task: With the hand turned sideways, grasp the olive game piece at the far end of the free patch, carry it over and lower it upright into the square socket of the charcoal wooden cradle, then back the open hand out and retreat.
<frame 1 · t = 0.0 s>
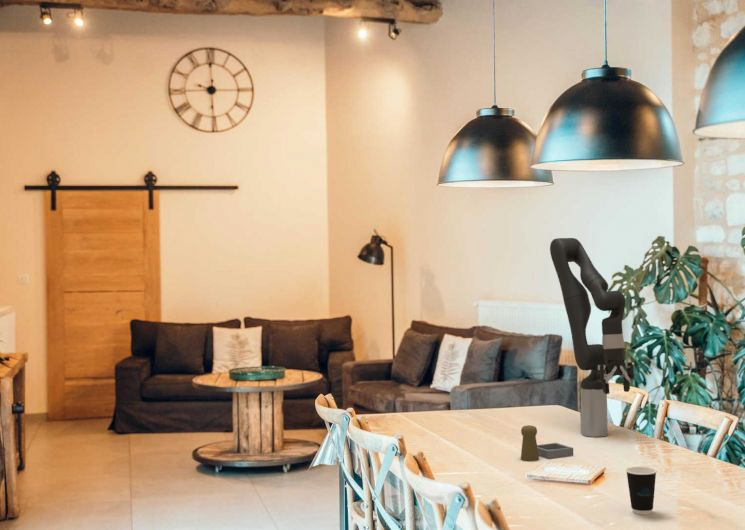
hand: (616, 392, 339), 17 cm above the table, tool pointing down, fingers open, 8 cm apart
cradle: (552, 454, 321), on the table
dixie cup: (642, 512, 249), on the table
olive game piece: (529, 459, 315), on the table
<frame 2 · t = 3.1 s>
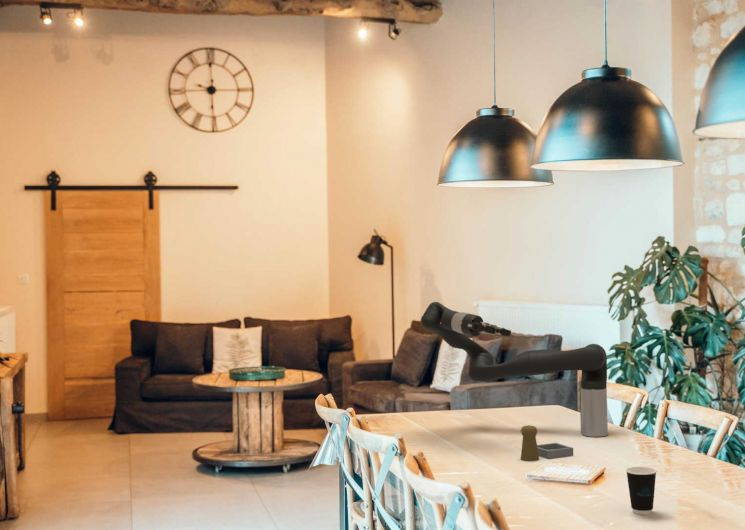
hand: (502, 332, 327), 41 cm above the table, tool horizontal, fingers open, 8 cm apart
nothing on the table moved.
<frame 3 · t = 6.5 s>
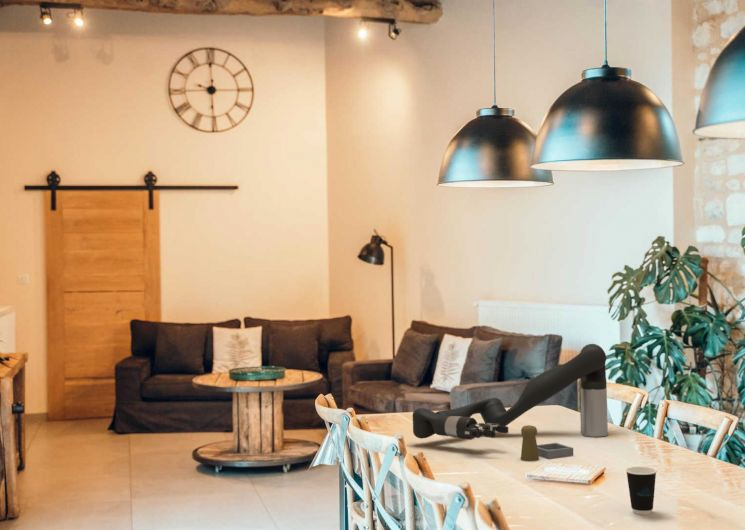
hand: (501, 432, 321), 8 cm above the table, tool horizontal, fingers open, 8 cm apart
nothing on the table moved.
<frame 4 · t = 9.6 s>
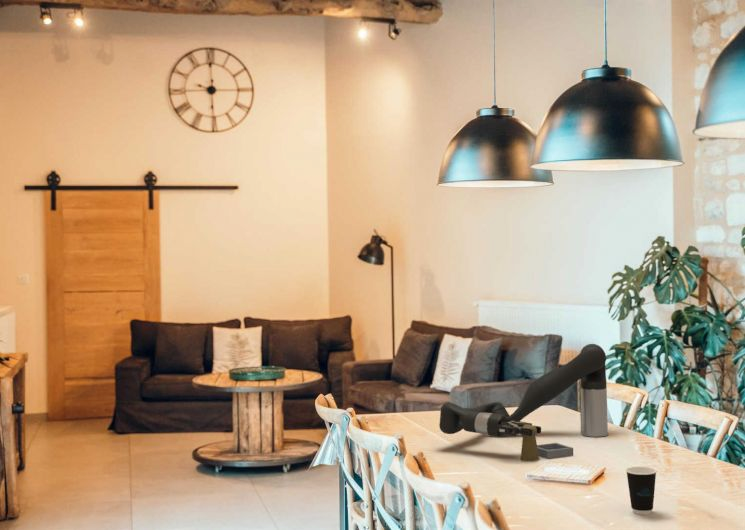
hand: (536, 431, 313), 9 cm above the table, tool horizontal, fingers closed on olive game piece, 5 cm apart
olive game piece: (529, 459, 315), on the table, touching gripper
everything else where it was.
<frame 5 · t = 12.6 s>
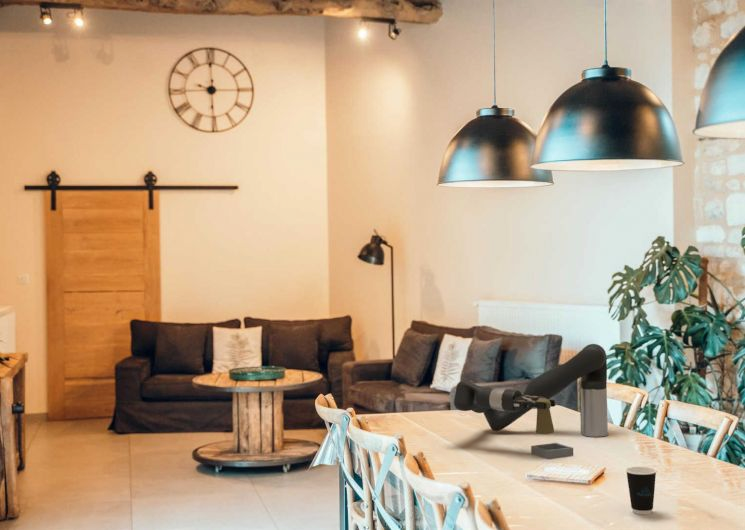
hand: (550, 404, 316), 17 cm above the table, tool horizontal, fingers closed on olive game piece, 5 cm apart
olive game piece: (545, 432, 318), point 8 cm above the table, touching gripper
everything else where it was.
when the fingers open (10 cm above the table, at t = 15.4 s): olive game piece stays where it is, resting on cradle.
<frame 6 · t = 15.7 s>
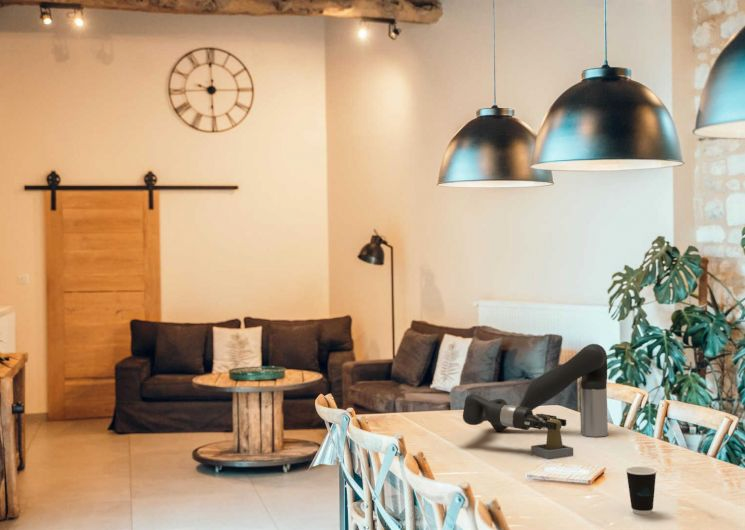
hand: (561, 424, 318), 10 cm above the table, tool horizontal, fingers open, 7 cm apart
olive game piece: (554, 452, 320), point 1 cm above the table, touching cradle
everything else where it was.
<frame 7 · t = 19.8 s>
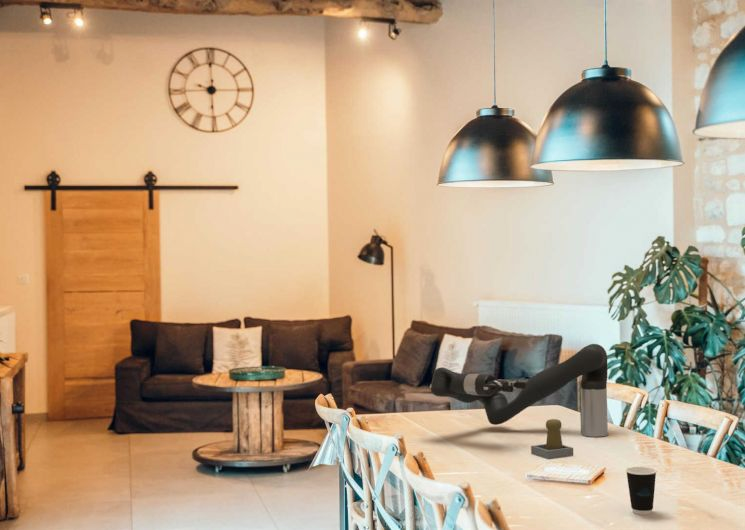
hand: (519, 387, 327), 22 cm above the table, tool horizontal, fingers open, 8 cm apart
nothing on the table moved.
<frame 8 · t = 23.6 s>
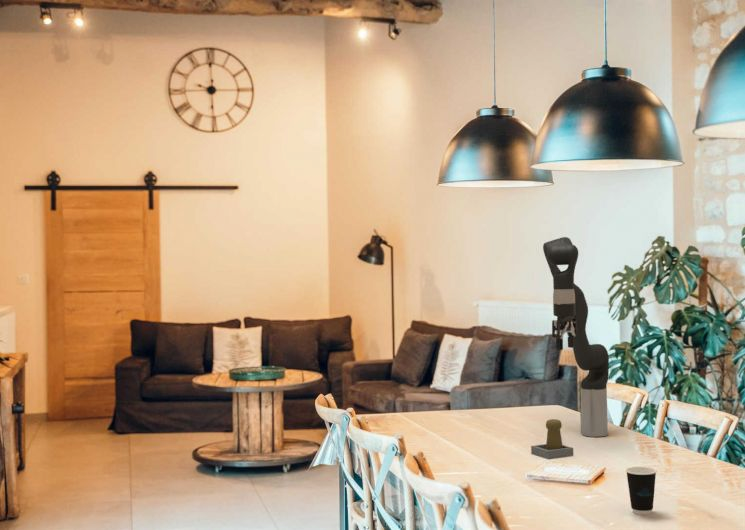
hand: (565, 348, 332), 34 cm above the table, tool pointing down, fingers open, 8 cm apart
nothing on the table moved.
at the end: olive game piece 0.8 cm off-centre on the cradle, point 0.6 cm above the cradle's base; olive game piece tilted 0°; the gripper is holding nothing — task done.
